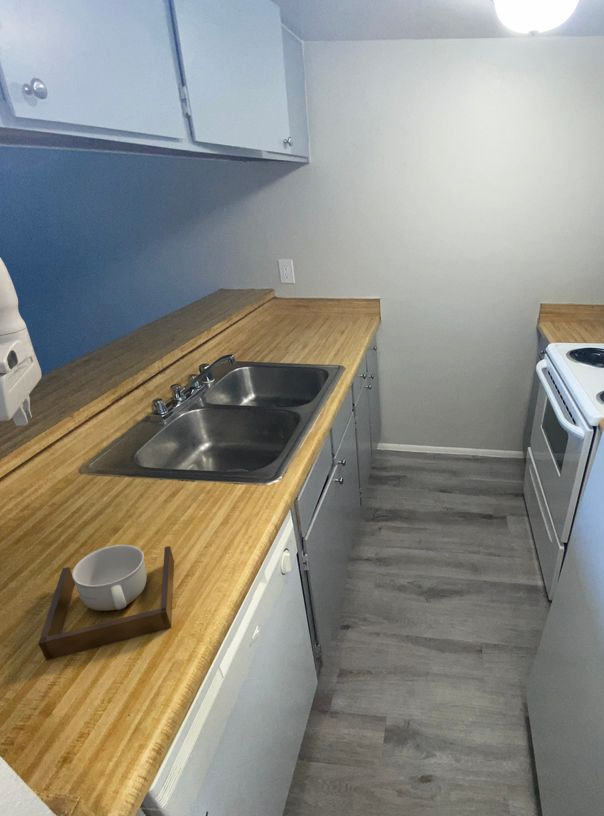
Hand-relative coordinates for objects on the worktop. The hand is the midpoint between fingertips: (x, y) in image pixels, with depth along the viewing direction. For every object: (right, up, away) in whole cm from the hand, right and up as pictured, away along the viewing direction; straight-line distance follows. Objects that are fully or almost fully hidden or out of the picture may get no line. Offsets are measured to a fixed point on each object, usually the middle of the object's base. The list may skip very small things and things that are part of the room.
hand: (24, 422), depth 83 cm
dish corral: (+16, -33, +1) cm, 36 cm away
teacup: (+16, -33, +2) cm, 36 cm away
